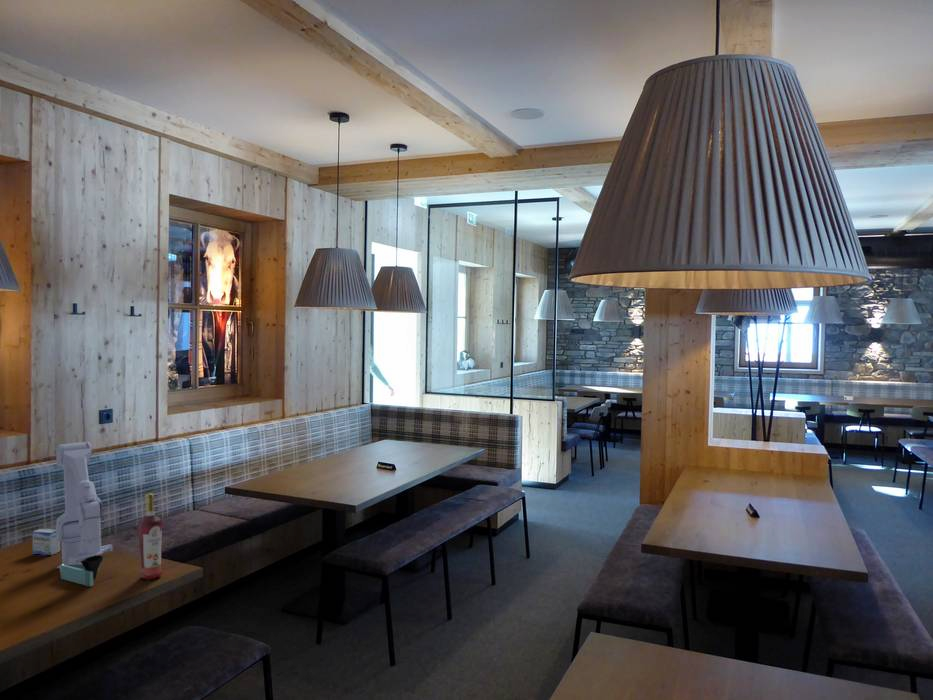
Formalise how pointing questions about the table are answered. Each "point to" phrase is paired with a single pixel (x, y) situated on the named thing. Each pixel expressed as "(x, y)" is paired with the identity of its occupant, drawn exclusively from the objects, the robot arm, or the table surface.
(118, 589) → the table surface
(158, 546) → the liquor
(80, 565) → the camera case
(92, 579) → the side door
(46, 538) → the medicine box
